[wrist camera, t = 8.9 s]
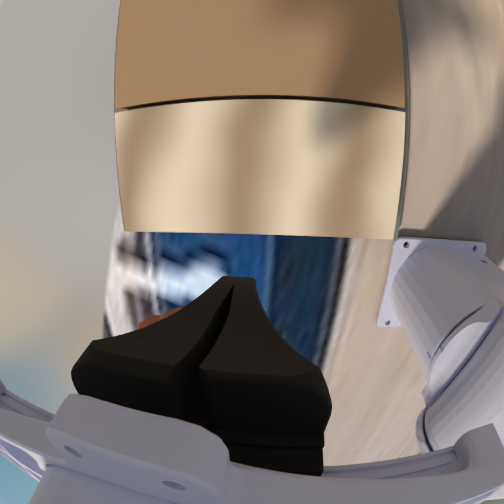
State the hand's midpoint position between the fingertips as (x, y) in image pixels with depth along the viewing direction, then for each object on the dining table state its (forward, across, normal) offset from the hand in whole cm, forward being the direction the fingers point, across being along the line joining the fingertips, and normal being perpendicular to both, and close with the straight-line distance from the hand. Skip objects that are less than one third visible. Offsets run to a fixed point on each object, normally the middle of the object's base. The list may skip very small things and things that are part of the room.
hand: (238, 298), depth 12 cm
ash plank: (+9, 0, -4) cm, 10 cm away
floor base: (+10, 0, -9) cm, 13 cm away
